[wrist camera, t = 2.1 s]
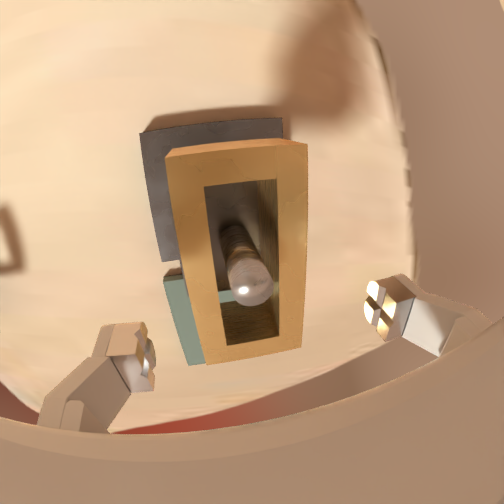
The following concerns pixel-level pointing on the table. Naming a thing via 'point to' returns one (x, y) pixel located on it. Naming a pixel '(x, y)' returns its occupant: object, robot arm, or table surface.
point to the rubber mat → (187, 317)
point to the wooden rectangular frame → (271, 242)
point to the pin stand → (214, 206)
